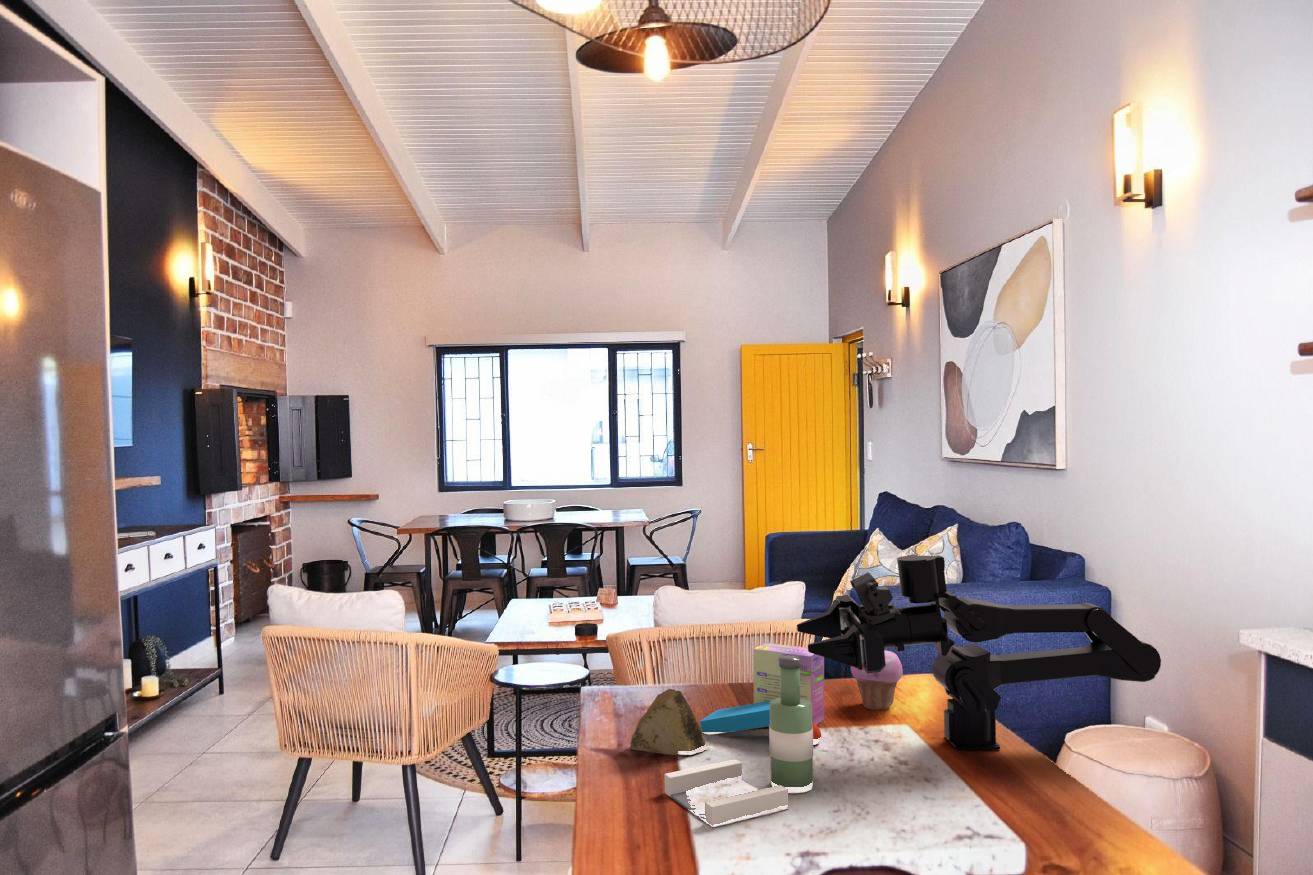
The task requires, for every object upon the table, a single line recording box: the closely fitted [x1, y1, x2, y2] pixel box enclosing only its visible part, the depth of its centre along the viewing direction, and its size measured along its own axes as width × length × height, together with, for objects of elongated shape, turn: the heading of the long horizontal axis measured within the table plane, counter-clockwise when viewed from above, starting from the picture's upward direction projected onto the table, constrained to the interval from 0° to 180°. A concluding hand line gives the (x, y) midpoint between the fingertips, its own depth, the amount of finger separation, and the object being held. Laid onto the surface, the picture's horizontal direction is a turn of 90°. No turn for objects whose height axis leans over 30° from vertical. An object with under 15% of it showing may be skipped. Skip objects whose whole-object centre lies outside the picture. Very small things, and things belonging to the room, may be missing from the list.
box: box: [752, 642, 825, 726], centre depth 146 cm, size 10×6×12 cm, turn 58°
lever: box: [699, 701, 822, 739], centre depth 138 cm, size 7×7×18 cm
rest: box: [664, 758, 789, 826], centre depth 113 cm, size 11×12×2 cm
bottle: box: [768, 655, 814, 787], centre depth 118 cm, size 6×6×17 cm
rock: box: [630, 688, 707, 756], centre depth 133 cm, size 11×9×10 cm
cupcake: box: [850, 649, 904, 711], centre depth 152 cm, size 9×9×10 cm
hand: (802, 637), depth 133 cm, fingers open, 9 cm apart
